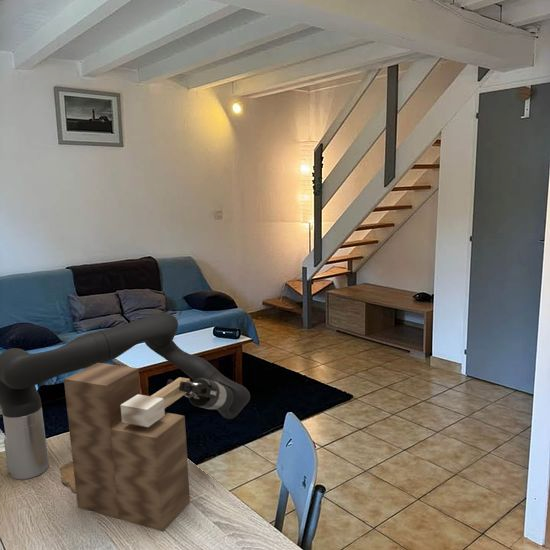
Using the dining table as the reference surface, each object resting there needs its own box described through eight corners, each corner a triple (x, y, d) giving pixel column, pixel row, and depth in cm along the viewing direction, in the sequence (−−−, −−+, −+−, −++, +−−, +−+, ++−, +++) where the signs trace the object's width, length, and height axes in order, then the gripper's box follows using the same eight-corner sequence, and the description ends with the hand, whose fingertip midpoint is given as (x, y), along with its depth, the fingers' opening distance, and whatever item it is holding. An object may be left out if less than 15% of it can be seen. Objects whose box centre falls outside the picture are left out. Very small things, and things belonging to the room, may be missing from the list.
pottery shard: (64, 498, 127) (64, 491, 126) (58, 467, 140) (58, 461, 140) (98, 489, 130) (97, 482, 130) (89, 460, 144) (88, 454, 144)
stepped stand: (77, 507, 122) (63, 378, 116) (109, 482, 132) (97, 362, 126) (163, 531, 113) (152, 393, 107) (190, 502, 123) (181, 374, 117)
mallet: (121, 422, 113) (120, 404, 112) (173, 387, 131) (172, 372, 131) (148, 427, 111) (147, 409, 110) (197, 391, 129) (196, 375, 128)
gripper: (188, 377, 144) (154, 366, 129) (233, 383, 139) (203, 372, 124) (182, 404, 142) (146, 396, 127) (228, 412, 137) (196, 404, 122)
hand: (174, 384), depth 125 cm, fingers closed on mallet, 3 cm apart
